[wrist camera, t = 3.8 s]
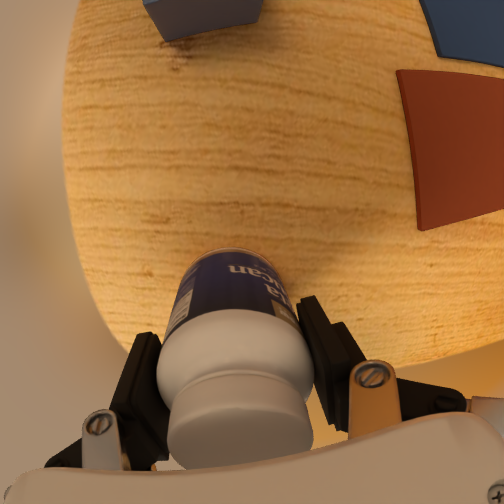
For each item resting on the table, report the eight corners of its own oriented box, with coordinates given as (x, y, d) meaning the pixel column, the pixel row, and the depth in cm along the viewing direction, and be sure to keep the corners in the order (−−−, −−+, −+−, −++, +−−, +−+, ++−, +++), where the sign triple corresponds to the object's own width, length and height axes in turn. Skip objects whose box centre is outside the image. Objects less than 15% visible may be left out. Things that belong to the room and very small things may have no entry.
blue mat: (437, 57, 12) (442, 55, 12) (391, -58, 9) (394, -61, 9) (533, 75, 12) (538, 75, 12) (501, -19, 9) (504, -21, 9)
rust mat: (417, 229, 16) (421, 231, 15) (395, 70, 13) (399, 69, 12) (527, 199, 16) (531, 200, 15) (516, 82, 13) (520, 82, 12)
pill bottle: (300, 270, 16) (379, 409, 7) (252, 347, 17) (277, 498, 8) (205, 226, 15) (177, 353, 6) (165, 313, 16) (124, 466, 7)
